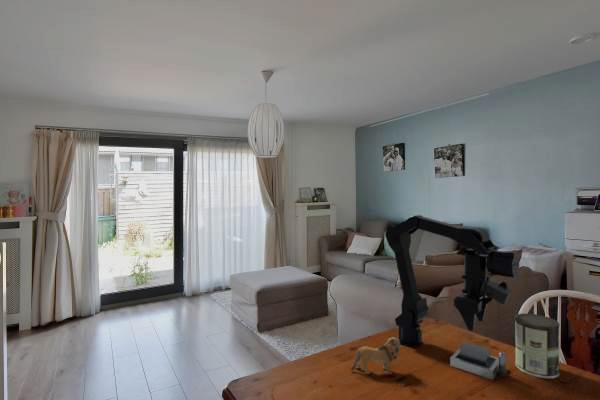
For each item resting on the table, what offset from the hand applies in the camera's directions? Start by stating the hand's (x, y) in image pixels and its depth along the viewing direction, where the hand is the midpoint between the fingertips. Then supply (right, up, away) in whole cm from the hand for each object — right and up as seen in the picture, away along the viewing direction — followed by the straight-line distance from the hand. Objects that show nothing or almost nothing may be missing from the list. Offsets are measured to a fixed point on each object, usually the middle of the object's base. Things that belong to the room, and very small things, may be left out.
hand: (475, 325), depth 96 cm
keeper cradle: (+1, -12, 0) cm, 12 cm away
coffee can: (+16, -12, -1) cm, 20 cm away
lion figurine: (-29, -13, -1) cm, 31 cm away
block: (0, -12, 0) cm, 12 cm away
